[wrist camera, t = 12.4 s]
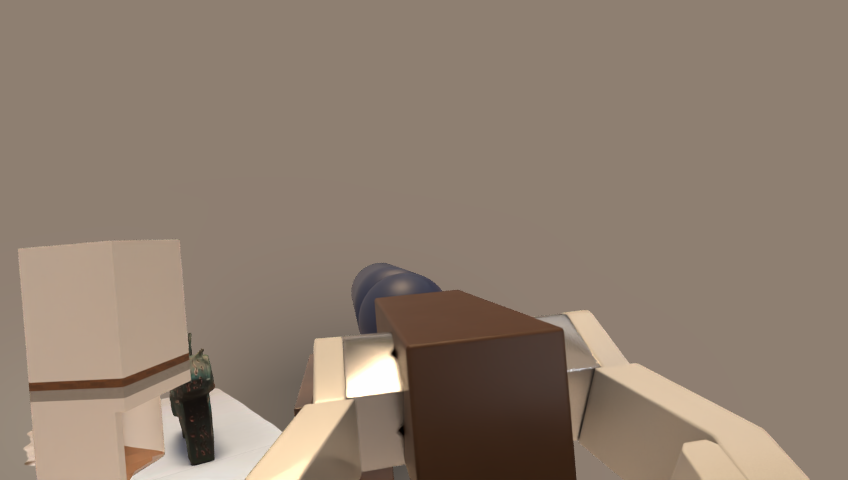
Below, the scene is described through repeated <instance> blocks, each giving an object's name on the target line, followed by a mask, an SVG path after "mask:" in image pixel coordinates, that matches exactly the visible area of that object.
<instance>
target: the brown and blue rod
mask: <svg viewBox="0 0 848 480" xmlns="http://www.w3.org/2000/svg"><path fill="white" fill-rule="evenodd" d="M352 300H353V305H354V309H355V312H356V317H357V322H358V326H359V330H360V334H373V333H385V332H392V335H393V339H394V344H395V356H396V359H398V364H399V369H400V374H401V379H402V384H403V389H404V424H403V430H404V436H405V464H406V467H407V470H408V474H409V477H410V480H576V468H575V456H574V445H573V432H572V420H571V408H570V396H569V384H568V372H567V360H566V348H565V336H564V330H563V328H561V327H558V326H555V325H553V324H550V323H547V322H544V321H542V320H539V319H536V318H533V317H530V316H528V315H525V314H523V313H520V312H517V311H514V310H512V309H509V308H506V307H503V306H501V305H498V304H495V303H493V302H490V301H487V300H484V299H482V298H479V297H476V296H473V295H471V294H468V293H465V292H463V291H460V290H452V291H442V290H441V289H440V288H439V287H438V286H437V285H436V284H435V283H434V282H433V281H431V280H430V279H428V278H426V277H424V276H421V275H419V274H416V273H413V272H410V271H407V270H405V269H402V268H399V267H396V266H393V265H390V264H387V263H375V264H372V265H369V266H367V267H365V268H364V269H363V270H361V271H360V272H359V273H358V275H357V276H356V278H355V280H354V282H353V285H352Z"/></svg>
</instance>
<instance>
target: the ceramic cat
mask: <svg viewBox="0 0 848 480" xmlns="http://www.w3.org/2000/svg"><path fill="white" fill-rule="evenodd" d="M188 342H189V348H188V349H189V362H190V374H191V381H189V382H187V383H185V384H182V385H180V386H178V387H176V388H174V389H172V390H170V401H171V408H172V413H173V415H174V416H177V417H179V421H180V425H181V428H182V434H183V438H185V439H186V444H187V451H188V458H189V460H190V462H191V465H197V464H201V463H205V462H208V461H212V460H214V435H213V424H212V411H211V404H210V396H209V392H211V391H212V390H213V389H214V388H215V384H214V380H213V375H212V370H211V365H210V361H209V358H208V356H207V355H203V353H202V352H203V351H204V349H201V350H200V351H199V352H198V353H197V354H196V355H192V350H191V333H189V334H188Z"/></svg>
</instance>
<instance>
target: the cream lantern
mask: <svg viewBox="0 0 848 480" xmlns="http://www.w3.org/2000/svg"><path fill="white" fill-rule="evenodd" d="M18 257H19V269H20V280H21V293H22V305H23V318H24V329H25V342H26V353H27V367H28V379H29V391H30V403H31V415H32V428H33V440H34V452H35V464H36V477H37V480H130V479H131V477H132V476H133V475H135V474H136V473H138V472H139V471H141V470H142V469H144V468H146V467H147V466H149V465H150V464H152V463H154V462H155V461H157V460H159V459H160V458H161V457H163V456H164V455H165V448H164V436H163V423H162V411H161V399H160V395H162V394H164V393H166V392H168V391H170V390H172V389H174V388H176V387H178V386H180V385H182V384H185V383H187V382H189V381H191V374H190V362H189V349H188V338H187V325H186V312H185V300H184V288H183V275H182V263H181V251H180V240H179V239H172V240H170V239H169V240H123V241H122V240H119V241H102V242H91V243H79V244H68V245H55V246H44V247H32V248H23V249H22V248H21V249H18Z"/></svg>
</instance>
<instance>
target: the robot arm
mask: <svg viewBox="0 0 848 480" xmlns="http://www.w3.org/2000/svg"><path fill="white" fill-rule="evenodd" d="M533 318H536V319H539V320H542V321H544V322H547V323H550V324H553V325H555V326H558V327H561V328H563V330H564V336H565V348H566V360H567V372H568V384H569V396H570V408H571V420H572V432H573V441H579V443H580V444H581V445H582V446H583V447H584V448H586V449H587V450H588V451H589V452H590V453H592V454H593V455H594V456H595V457H596V458H598V459H599V460H600V461H601V462H602V463H604V464H605V465H606V466H607V467H609V468H610V469H611V470H612V471H613V472H614V473H616V474H617V475H618V476H619V477H620V478H622V479H623V480H810V479H809V478H808V477H807V476H806V475H805V474H804V472H803V471H802V470H801V469H800V468H799V467H798V466H797V465H796V464H795V463H794V461H793V460H792V459H791V458H790V457H789V456H788V455H787V454H786V453H785V452H784V450H783V449H782V448H781V447H780V446H779V445H778V444H777V443H776V442H775V441H774V440H773V438H772V437H771V436H770V435H769V434H768V433H767V432H766V431H765V430H764V429H763V428H760V427H759V426H757V425H755V424H753V423H751V422H749V421H747V420H745V419H743V418H742V417H739V416H738V415H736V414H734V413H732V412H730V411H728V410H726V409H724V408H722V407H720V406H718V405H716V404H715V403H713V402H711V401H709V400H707V399H705V398H703V397H701V396H699V395H697V394H695V393H693V392H691V391H689V390H688V389H685V388H684V387H682V386H680V385H678V384H676V383H674V382H672V381H670V380H668V379H666V378H664V377H663V376H661V375H659V374H657V373H655V372H653V371H651V370H649V369H647V368H645V367H643V366H641V365H639V364H638V363H634V364H629V362H628V361H627V360H626V358H625V357H624V356H623V354H622V353H621V352H620V350H619V349H618V348H617V346H616V345H615V344H614V342H613V341H612V340H611V338H610V337H609V336H608V334H607V333H606V332H605V330H604V329H603V328H602V326H601V325H600V324H599V322H598V321H597V320H596V318H595V317H594V316H593V314H592V313H591V312H589V311H587V310H581V311H574V312H566V313H562V314H555V315H545V316H536V317H533ZM403 424H404V389H403V384H402V379H401V374H400V369H399V364H398V359H396V356H395V344H394V339H393V335H392V332H385V333H373V334H361V335H349V336H343V340H342V337H331V338H320V339H315V342H314V368H313V404H307V405H304V406H303V408H302V409H301V410H300V411H299V413H298V414H297V415H296V416H295V418H294V419H293V420H292V421H291V423H290V424H289V425H288V426H287V428H286V429H285V430H284V431H283V432H282V434H281V435H280V436H279V437H278V439H277V440H276V441H275V442H274V444H273V445H272V446H271V447H270V449H269V450H268V451H267V452H266V454H265V455H264V456H263V457H262V458H261V460H260V461H259V462H258V463H257V465H256V466H255V467H254V468H253V470H252V471H251V472H250V473H249V475H248V476H247V477H246V478H245V480H359V479H360V477H361V472H366V471H372V470H378V469H384V468H389V467H394V466H400V465H406V464H405V436H404V430H403Z"/></svg>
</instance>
